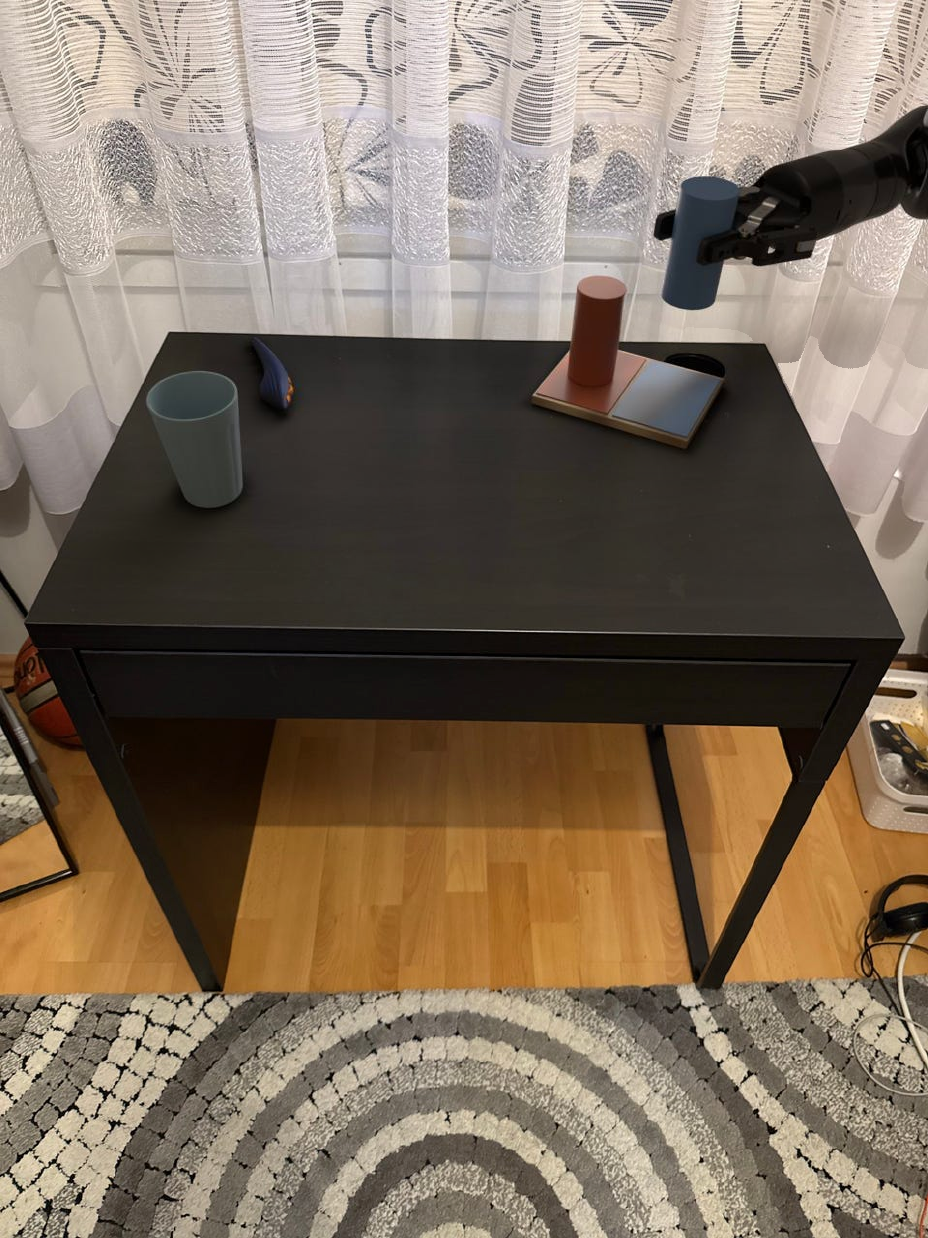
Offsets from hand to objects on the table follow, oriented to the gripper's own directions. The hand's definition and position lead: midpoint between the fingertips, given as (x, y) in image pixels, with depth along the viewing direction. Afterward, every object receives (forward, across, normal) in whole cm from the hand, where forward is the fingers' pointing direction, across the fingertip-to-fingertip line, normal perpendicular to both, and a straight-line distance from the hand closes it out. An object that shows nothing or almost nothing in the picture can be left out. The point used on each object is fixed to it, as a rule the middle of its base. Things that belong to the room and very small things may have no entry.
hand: (679, 240), depth 81 cm
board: (-3, -6, +20) cm, 21 cm away
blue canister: (-3, 0, +6) cm, 7 cm away
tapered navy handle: (+29, -28, +20) cm, 45 cm away
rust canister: (0, -9, +18) cm, 21 cm away
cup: (+41, -14, +20) cm, 48 cm away
